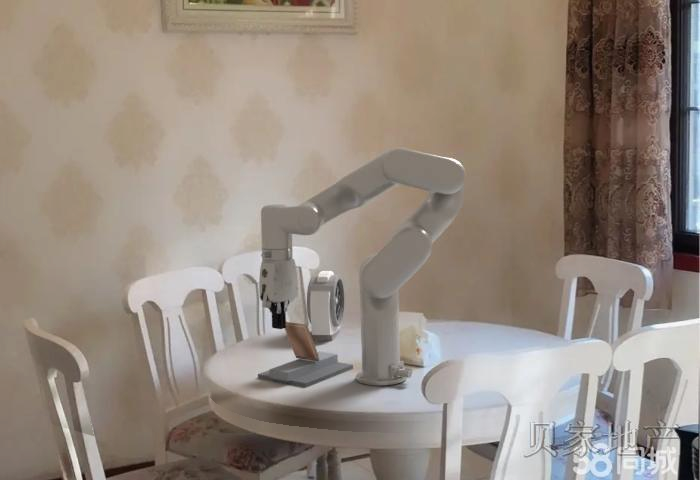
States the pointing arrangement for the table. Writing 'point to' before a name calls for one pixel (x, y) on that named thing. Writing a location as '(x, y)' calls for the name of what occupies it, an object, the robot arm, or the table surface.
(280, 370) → the grey ridged base plate
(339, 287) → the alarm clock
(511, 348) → the table surface
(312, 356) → the flap
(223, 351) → the table surface
